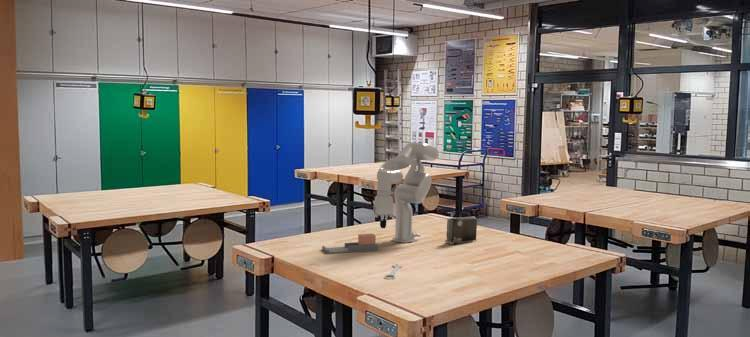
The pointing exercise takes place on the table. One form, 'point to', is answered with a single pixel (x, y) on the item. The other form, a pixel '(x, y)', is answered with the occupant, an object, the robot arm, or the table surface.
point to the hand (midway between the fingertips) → (383, 227)
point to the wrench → (393, 271)
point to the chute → (351, 248)
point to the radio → (461, 230)
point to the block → (366, 239)
